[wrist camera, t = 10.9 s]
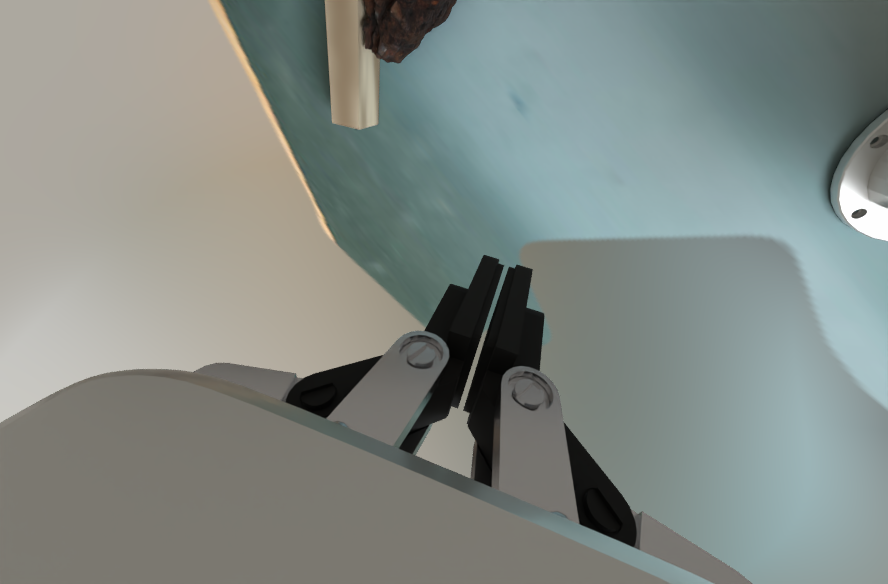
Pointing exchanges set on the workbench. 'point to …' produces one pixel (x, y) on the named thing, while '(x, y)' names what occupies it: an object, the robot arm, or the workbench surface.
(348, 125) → the bar
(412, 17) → the brown long lumpy piece
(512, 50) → the workbench surface
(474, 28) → the workbench surface
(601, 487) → the robot arm
